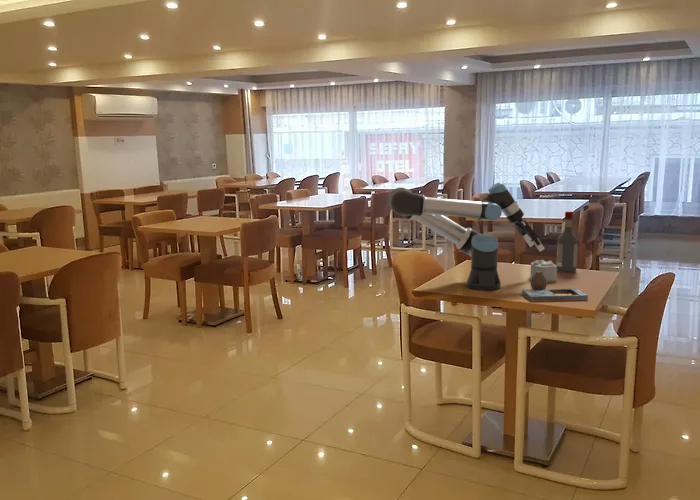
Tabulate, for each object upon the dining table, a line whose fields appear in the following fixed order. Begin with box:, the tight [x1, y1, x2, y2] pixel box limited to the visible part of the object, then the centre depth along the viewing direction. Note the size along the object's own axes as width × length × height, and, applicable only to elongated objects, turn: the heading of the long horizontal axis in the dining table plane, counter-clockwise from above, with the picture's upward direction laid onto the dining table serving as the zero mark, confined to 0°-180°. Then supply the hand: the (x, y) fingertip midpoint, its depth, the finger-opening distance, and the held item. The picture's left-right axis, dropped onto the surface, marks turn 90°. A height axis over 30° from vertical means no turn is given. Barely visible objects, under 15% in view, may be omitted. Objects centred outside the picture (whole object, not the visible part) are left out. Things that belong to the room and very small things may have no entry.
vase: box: [530, 271, 548, 289], centre depth 274 cm, size 7×7×9 cm
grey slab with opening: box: [521, 288, 589, 302], centre depth 264 cm, size 24×12×2 cm, turn 92°
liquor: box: [555, 211, 579, 274], centre depth 313 cm, size 9×9×30 cm
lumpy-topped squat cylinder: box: [529, 259, 558, 283], centre depth 298 cm, size 10×13×9 cm
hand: (537, 247), depth 295 cm, fingers open, 13 cm apart
